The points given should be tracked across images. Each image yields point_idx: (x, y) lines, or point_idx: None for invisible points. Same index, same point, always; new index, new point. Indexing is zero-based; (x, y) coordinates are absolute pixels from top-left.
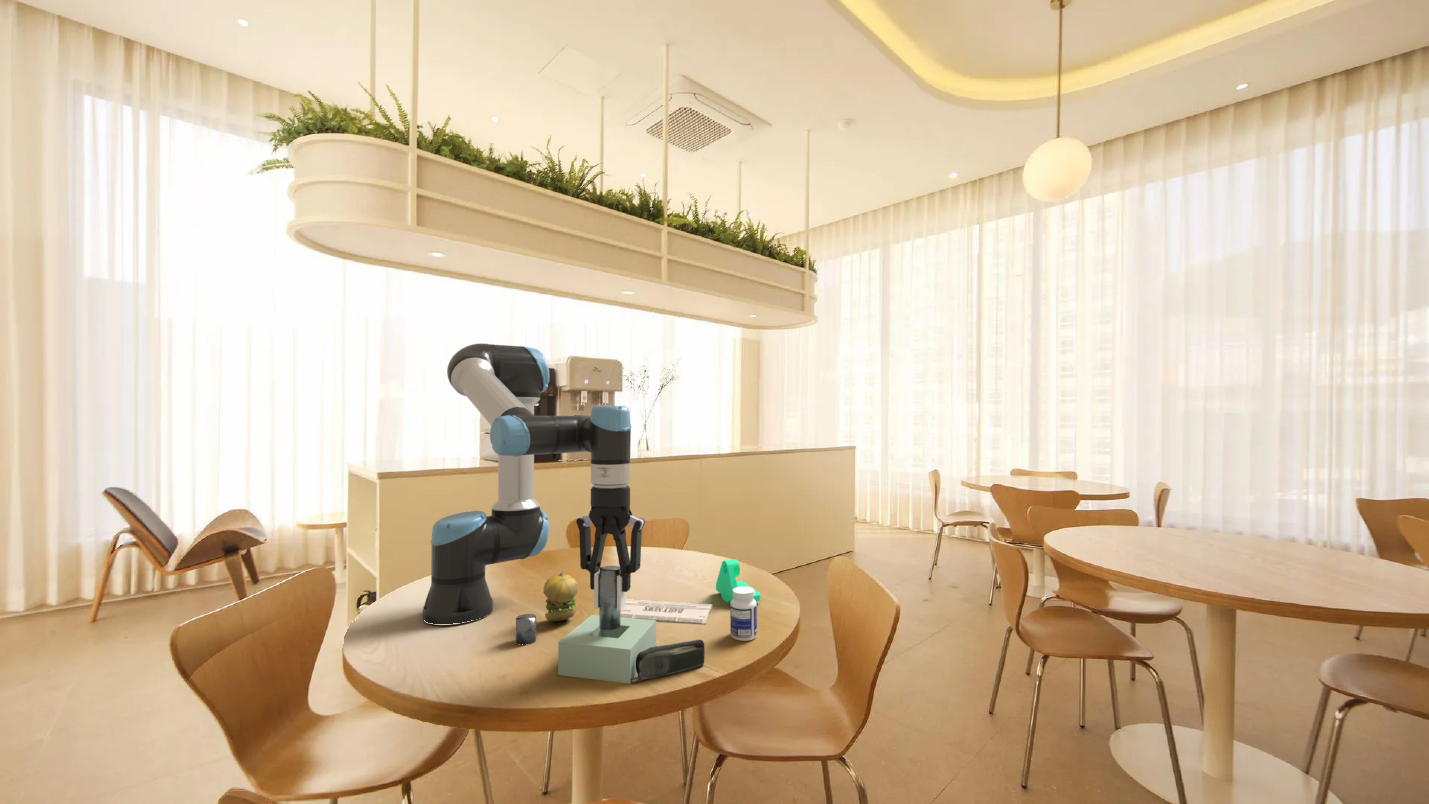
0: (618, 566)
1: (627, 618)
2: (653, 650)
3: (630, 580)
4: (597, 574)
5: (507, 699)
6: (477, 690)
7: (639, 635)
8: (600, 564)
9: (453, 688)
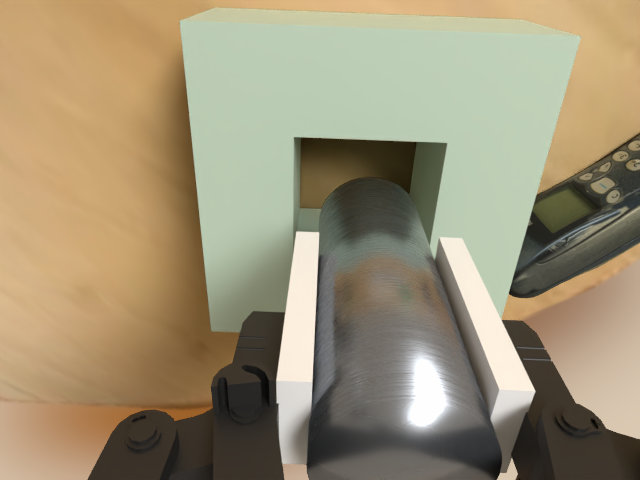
0: (466, 414)
1: (406, 39)
2: (567, 275)
3: (556, 370)
4: (304, 463)
5: (182, 378)
6: (81, 359)
7: (510, 231)
8: (277, 439)
9: (17, 360)
